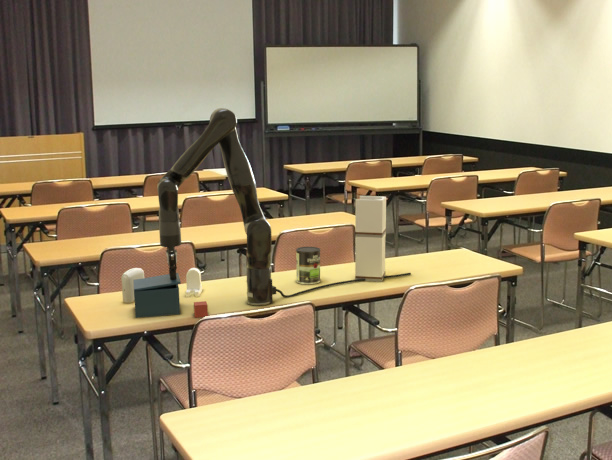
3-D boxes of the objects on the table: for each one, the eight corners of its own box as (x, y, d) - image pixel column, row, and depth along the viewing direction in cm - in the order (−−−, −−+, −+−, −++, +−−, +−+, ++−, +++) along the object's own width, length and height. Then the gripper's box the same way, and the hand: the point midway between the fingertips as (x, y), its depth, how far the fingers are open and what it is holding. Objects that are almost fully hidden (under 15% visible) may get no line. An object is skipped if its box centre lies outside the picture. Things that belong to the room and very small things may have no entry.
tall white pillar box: (385, 275, 331) (386, 196, 324) (381, 281, 320) (382, 200, 313) (359, 274, 333) (359, 195, 326) (355, 280, 322) (355, 199, 315)
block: (206, 312, 277) (206, 301, 276) (207, 316, 273) (207, 304, 272) (194, 313, 276) (193, 302, 275) (195, 317, 271) (194, 305, 270)
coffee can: (325, 281, 320) (325, 249, 317) (306, 286, 313) (305, 252, 311) (310, 277, 328) (310, 245, 325) (291, 281, 321) (290, 248, 318)
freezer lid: (178, 274, 286) (176, 261, 285) (180, 283, 273) (178, 270, 272) (133, 281, 281) (131, 268, 280) (134, 291, 269) (131, 278, 268)
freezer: (177, 303, 288) (176, 279, 286) (180, 314, 275) (178, 288, 273) (135, 307, 283) (133, 281, 281) (135, 318, 271) (133, 291, 269)
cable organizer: (202, 289, 307) (201, 265, 305) (199, 296, 298) (198, 271, 296) (189, 289, 307) (188, 266, 305) (185, 296, 297) (184, 272, 295)
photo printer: (130, 304, 287) (128, 272, 285) (121, 302, 289) (119, 271, 287) (147, 296, 297) (145, 266, 294) (138, 295, 298) (136, 265, 296)
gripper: (182, 235, 270) (184, 281, 273) (179, 228, 283) (182, 272, 286) (160, 237, 267) (163, 283, 271) (158, 229, 281) (161, 274, 284)
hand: (172, 277), depth 279 cm, fingers closed on freezer lid, 5 cm apart
